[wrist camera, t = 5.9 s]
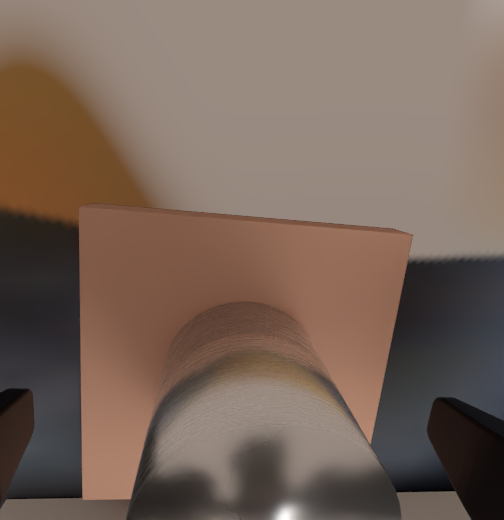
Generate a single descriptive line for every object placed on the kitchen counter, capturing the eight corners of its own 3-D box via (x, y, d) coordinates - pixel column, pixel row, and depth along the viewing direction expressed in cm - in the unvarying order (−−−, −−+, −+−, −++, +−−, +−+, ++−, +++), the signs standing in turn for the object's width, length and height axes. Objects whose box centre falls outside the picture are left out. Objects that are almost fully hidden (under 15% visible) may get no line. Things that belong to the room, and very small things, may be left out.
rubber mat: (347, 468, 12) (360, 494, 11) (94, 470, 11) (82, 500, 10) (393, 228, 10) (413, 234, 9) (92, 202, 9) (78, 206, 8)
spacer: (304, 438, 10) (374, 639, 6) (160, 437, 10) (117, 659, 5) (325, 305, 9) (427, 427, 5) (166, 296, 9) (122, 423, 4)
